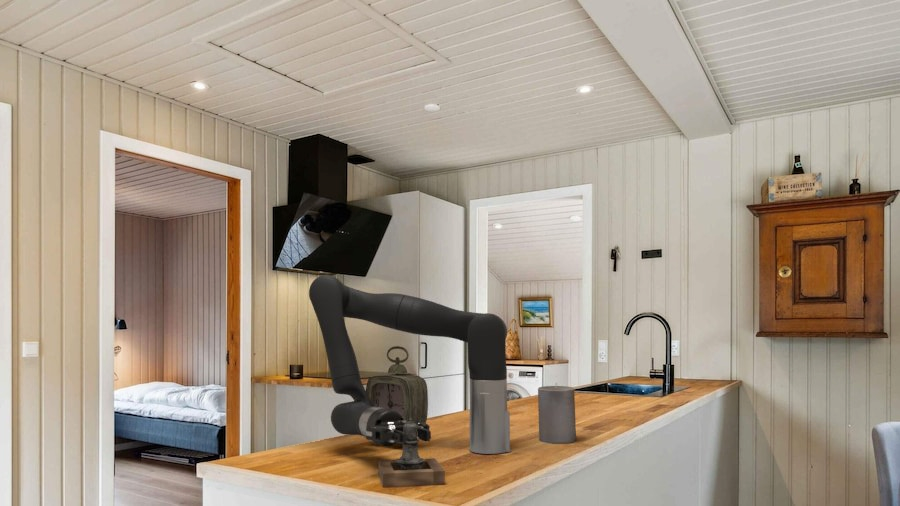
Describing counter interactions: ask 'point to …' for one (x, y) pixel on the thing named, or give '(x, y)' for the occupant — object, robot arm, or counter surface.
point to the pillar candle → (556, 414)
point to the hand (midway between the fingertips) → (416, 437)
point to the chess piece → (410, 449)
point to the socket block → (411, 474)
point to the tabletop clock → (400, 392)
